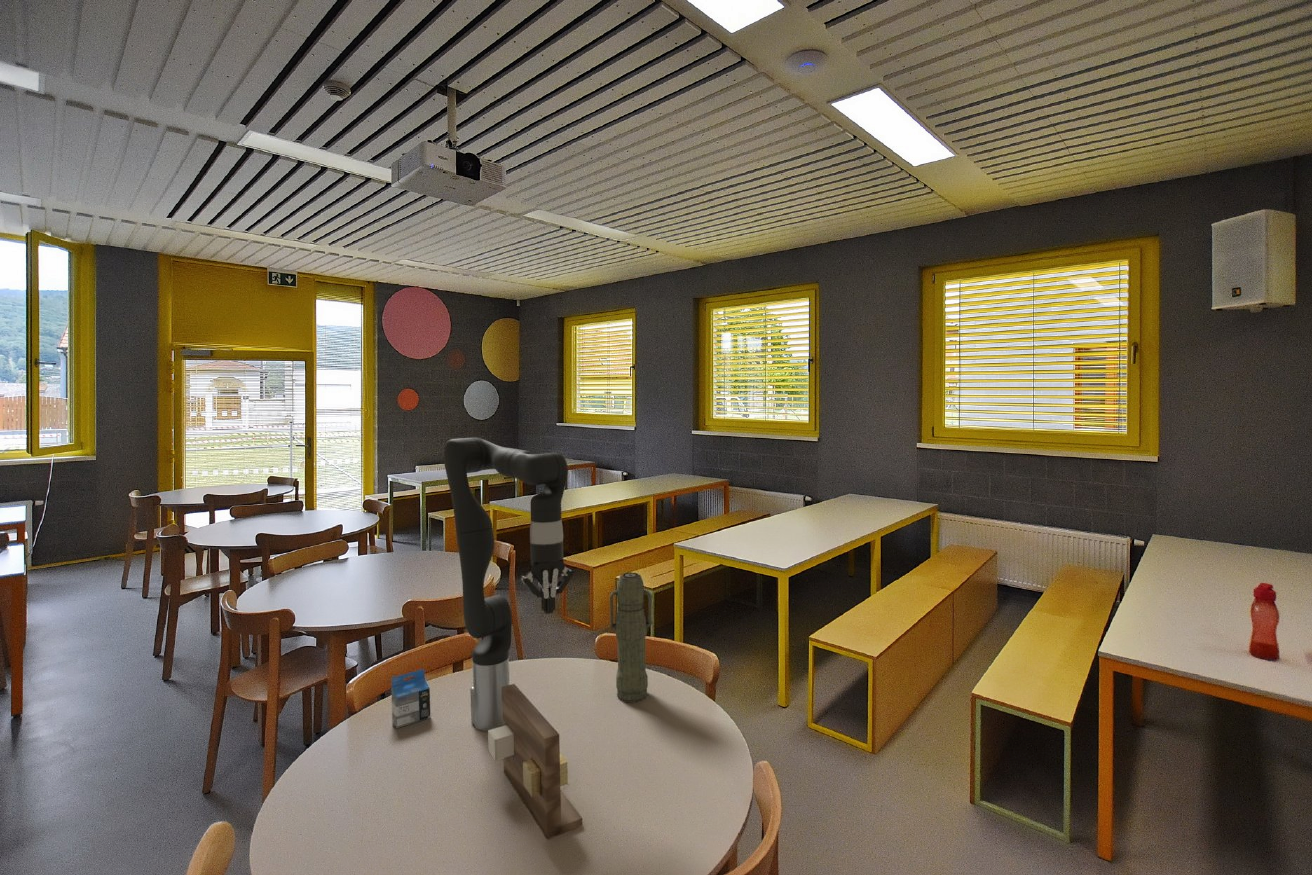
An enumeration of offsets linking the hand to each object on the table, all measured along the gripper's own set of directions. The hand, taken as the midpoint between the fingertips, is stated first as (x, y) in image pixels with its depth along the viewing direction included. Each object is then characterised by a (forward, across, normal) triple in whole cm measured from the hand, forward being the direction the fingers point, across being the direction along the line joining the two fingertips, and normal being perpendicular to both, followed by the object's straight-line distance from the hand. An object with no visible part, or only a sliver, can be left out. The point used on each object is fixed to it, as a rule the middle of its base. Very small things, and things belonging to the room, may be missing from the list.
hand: (548, 612), depth 148 cm
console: (+35, +8, +13) cm, 38 cm away
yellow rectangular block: (+27, +10, +21) cm, 36 cm away
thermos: (+35, -32, -17) cm, 50 cm away
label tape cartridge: (+35, +25, -37) cm, 56 cm away
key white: (+27, +12, +5) cm, 30 cm away
